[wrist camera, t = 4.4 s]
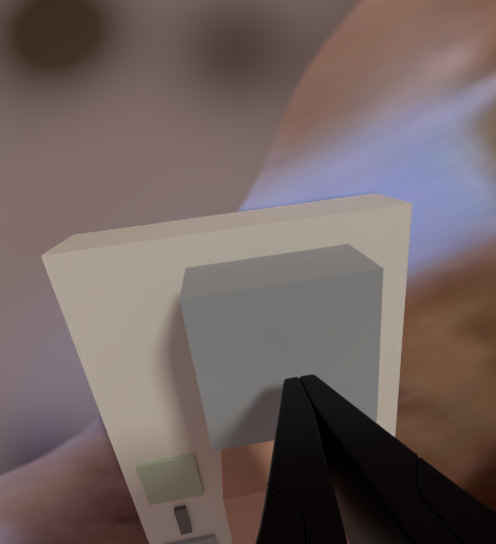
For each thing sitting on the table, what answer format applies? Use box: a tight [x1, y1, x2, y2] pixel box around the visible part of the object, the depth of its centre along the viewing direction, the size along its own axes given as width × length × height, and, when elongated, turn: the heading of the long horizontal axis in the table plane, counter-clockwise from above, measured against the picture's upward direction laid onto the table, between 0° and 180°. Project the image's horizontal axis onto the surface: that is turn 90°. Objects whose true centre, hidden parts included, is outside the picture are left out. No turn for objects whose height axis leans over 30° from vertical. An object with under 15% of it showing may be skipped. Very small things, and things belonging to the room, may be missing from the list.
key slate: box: [179, 244, 383, 451], centre depth 11 cm, size 6×6×2 cm
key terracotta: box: [221, 440, 349, 544], centre depth 14 cm, size 6×6×2 cm
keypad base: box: [41, 193, 412, 544], centre depth 19 cm, size 14×31×3 cm, turn 7°
